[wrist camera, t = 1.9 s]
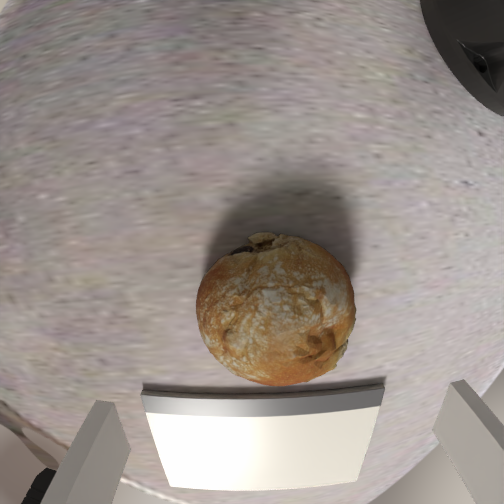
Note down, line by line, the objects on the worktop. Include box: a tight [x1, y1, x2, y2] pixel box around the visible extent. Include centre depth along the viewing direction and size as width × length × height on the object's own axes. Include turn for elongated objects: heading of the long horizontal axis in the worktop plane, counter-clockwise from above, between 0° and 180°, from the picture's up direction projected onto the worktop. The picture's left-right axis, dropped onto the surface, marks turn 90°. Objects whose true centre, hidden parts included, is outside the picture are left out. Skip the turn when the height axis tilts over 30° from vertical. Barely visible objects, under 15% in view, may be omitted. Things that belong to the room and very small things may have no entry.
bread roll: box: [196, 232, 356, 386], centre depth 20 cm, size 10×10×8 cm
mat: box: [141, 384, 385, 490], centre depth 26 cm, size 20×14×1 cm
